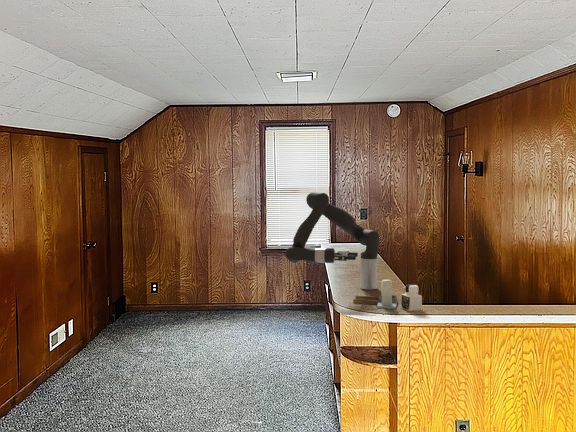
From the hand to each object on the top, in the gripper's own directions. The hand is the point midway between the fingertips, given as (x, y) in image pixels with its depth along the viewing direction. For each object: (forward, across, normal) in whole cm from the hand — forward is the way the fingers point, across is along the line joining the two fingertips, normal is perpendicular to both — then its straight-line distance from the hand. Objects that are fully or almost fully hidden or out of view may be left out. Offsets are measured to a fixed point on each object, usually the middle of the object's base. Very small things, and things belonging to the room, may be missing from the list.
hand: (356, 256), depth 300 cm
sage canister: (+15, -5, +23) cm, 28 cm away
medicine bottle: (+27, -8, +24) cm, 37 cm away
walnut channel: (+4, +4, +24) cm, 25 cm away
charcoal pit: (+15, +4, +24) cm, 29 cm away
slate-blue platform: (+15, -5, +24) cm, 29 cm away
